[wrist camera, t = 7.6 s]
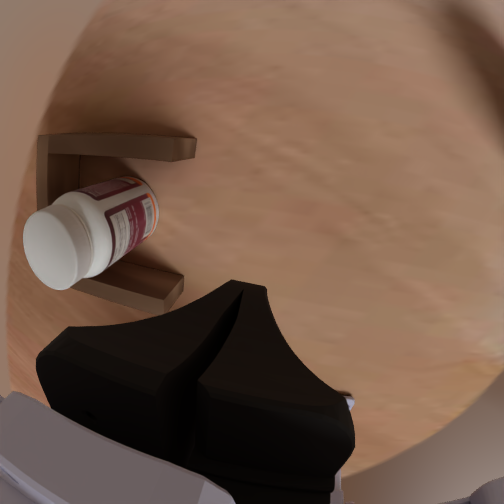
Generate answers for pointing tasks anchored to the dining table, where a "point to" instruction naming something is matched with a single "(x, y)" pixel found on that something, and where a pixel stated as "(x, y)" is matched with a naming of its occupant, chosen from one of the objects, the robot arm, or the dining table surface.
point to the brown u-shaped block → (67, 179)
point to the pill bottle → (89, 230)
